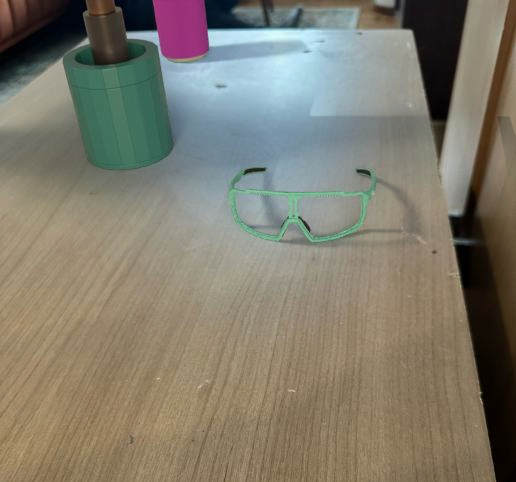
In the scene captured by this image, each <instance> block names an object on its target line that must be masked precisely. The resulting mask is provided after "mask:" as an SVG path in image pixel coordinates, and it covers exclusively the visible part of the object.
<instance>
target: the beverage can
mask: <svg viewBox="0 0 516 482" xmlns="http://www.w3.org/2000/svg"><path fill="white" fill-rule="evenodd" d="M152 4H153V11H154V16H155V23H156V30H157V35H158V42H159V49H160V52H161V56H163V57H164V58H165V59H166V60H167V61H169V62H172V63H182V64H183V63H190V62H196V61H198V60H202V59H203V58H205V56H206V55H207V53H209V51H210V41H209V32H208V30H209V29H208V22H207V12H206V4H205V0H152Z"/></svg>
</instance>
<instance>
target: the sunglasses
mask: <svg viewBox="0 0 516 482" xmlns="http://www.w3.org/2000/svg"><path fill="white" fill-rule="evenodd" d="M267 171H268V167H267V166H248V167H244V168H242V169H240V170H239V171H238V172H237V173H236V174H235V175H234V176H233V178H232V179H231V180H230V181H229V184H228V200H229V203H230V208H231V209H230V210H231V213H232V216H233V218H234V220H235V223H236V224H237V225H238V226H239V227H240V228H241V229H242V230H244V231H245V232H247V233H249V234H250V235H252V236H256V237H258V238H261V239H264V240H267V241H268V240H269V241H274V242H276V241H277V242H278V241H280V240H281V239H282V238H283V237H284V235H285V233H286V231H287V228H288V227H289V225H290V224H297V225H298V227H299V228H300V230H301V231H302V233H303V234H304V236H305V237H306V239H308V241H309V242H311V243H321V242H327V241H332V240H337V239H340V238H343V237H346V236H348V235H350V234H353V233H355V232H356V231H357V230H359V229H360V228H362V226H363V223H364V222H365V221H364V220H365V218H366V214H367V205H368V203H370V201H371V200H372V199H373V198H374V197H375V194H376V191H377V177H376V174H375V172H374V171H373V170H372V169H370V168H366V167H357V168H355V173H356V174H357V175H360V176H361V175H362V176H367V177H369V178H370V179H371V181H372V183H371V185H370V187H368V188H367V189H366V190H365V191H363V190H358V191H357V190H356V191H349V192H344V191H342V190H329V191H325V190H324V191H285V190H283V191H282V190H266V189H256V188H248V189H246V190H245V189H239V188H235V185H236V184H237V183H239V182H240V180H242V178H243V177H246V176H248V175H251V174H263V173H267ZM236 194H242V195H250V194H252V195H260V196H273V197H275V196H276V197H286V198H287V200H288V208H289V209H288V216H287V217H286V219H285V220H284V221H283V222H282V223H281V226H280V230H279V232H278V234H277V235H272V234H267V233H264V232H261V231H260V232H259V231H258V230H255V229H254V228H252V227H250V226H248V225H247V224H246V223H245V222H243V221H242V220H241V219H240V216H239V214H238V211H237V210H238V209H237V205H236ZM339 195H340V196H341V197H344V198H345V197H354V196H360V208H361V209H360V216H359V220H358V222H357V223H356V224H354V225H353V226H351V227H349V228H347V229H345V230H343V231H340V232H337V233H334V234H329V235H325V236H313V235H312V234H311V227H310V226H309V223H308V222H307V221H306V220H305V219H303V217H301V216H300V215H299V199H300V198H301V197H338V196H339ZM293 201H294V215H293Z"/></svg>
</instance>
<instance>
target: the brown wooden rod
mask: <svg viewBox="0 0 516 482" xmlns="http://www.w3.org/2000/svg"><path fill="white" fill-rule="evenodd" d="M85 4H86V8H87V10H85V11H84V12H83V13H82V17H83V21H84V25H85V30H86V34H87V39H88V44H90V48H91V52H92V56H93V61H94V65H111V64H118V63H123V62H127V61H130V60H131V55H130V50H129V45H128V40H127V39H128V35H127V30H126V24H125V20H124V15H123V9H122V8H121V7H120V6H116V4H115V0H85Z"/></svg>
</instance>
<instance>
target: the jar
mask: <svg viewBox="0 0 516 482" xmlns="http://www.w3.org/2000/svg"><path fill="white" fill-rule="evenodd" d="M127 40H128V45H129V50H130V55H131V60H130V61H127V62H123V63H118V64H111V65H94V61H93V56H92V52H91V48H90V43H87V44H85V45H84V44H83V45H81V46H78V47H76V48H73V49H72V50H70V51H68V52H67V53H66V54H65V55H63V57H62V62H61V63H62V65H63V70H64V73H65V77H66V80H67V81H66V82H67V85H68V89H69V94H70V97H71V100H72V106H73V109H74V112H75V116H76V120H77V124H78V129H79V132H80V136H81V140H82V144H83V147H84V151H85V154H86V157H87V160H88V162H89V163H90V164H92V165H93V166H96V167H98V168H100V169H105V170H110V171H111V170H112V171H113V170H114V171H121V170H122V171H124V170H134V169H138V168H143V167H147V166H150V165H153V164H155V163H158V162H159V161H161V160H163V159H165V158H166V157H168V156H169V155H170V154H171V152H172V151H173V149H174V141H173V133H172V126H171V120H170V113H169V107H168V100H167V95H166V89H165V83H164V76H163V70H162V63H161V57H160V50H159V45H158V44H156V43H154V41H150V40H147V39H143V38H141V39H140V38H127Z"/></svg>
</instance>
